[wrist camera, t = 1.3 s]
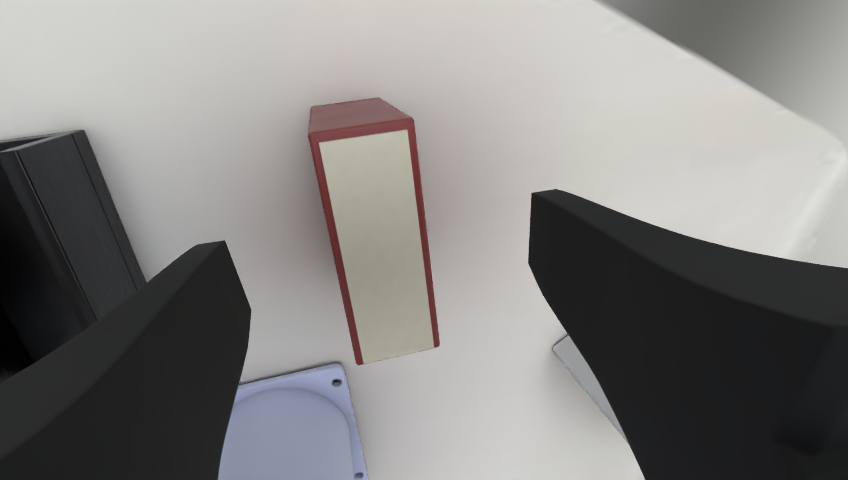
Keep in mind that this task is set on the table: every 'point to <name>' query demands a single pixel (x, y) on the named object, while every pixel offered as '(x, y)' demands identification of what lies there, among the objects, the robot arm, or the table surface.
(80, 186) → the rack
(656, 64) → the table surface
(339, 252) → the book
